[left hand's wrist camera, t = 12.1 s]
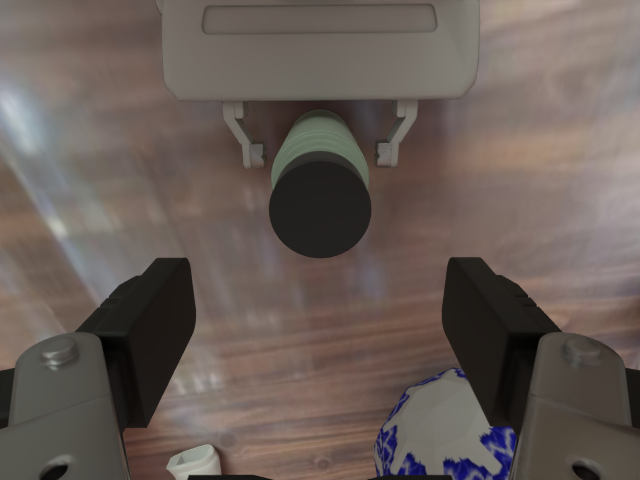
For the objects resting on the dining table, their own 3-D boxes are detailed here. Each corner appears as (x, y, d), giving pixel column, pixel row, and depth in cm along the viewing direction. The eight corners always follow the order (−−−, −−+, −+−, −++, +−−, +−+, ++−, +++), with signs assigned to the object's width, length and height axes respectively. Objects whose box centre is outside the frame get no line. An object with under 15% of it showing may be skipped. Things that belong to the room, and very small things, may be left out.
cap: (384, 192, 20) (392, 206, 18) (324, 254, 21) (324, 276, 19) (315, 130, 19) (314, 138, 17) (256, 200, 20) (248, 216, 18)
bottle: (364, 138, 36) (408, 203, 18) (322, 185, 37) (325, 286, 19) (317, 95, 34) (313, 117, 17) (275, 144, 36) (232, 214, 18)
